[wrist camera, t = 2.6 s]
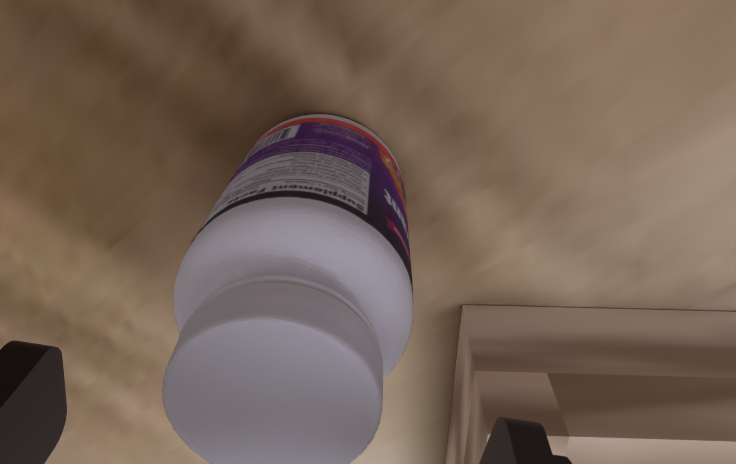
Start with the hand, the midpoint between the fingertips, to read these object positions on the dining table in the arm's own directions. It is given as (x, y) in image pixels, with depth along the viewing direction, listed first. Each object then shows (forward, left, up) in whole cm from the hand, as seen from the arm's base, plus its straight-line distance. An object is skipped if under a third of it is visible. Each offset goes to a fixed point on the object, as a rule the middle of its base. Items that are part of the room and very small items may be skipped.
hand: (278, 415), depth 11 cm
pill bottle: (0, 0, -10) cm, 10 cm away
